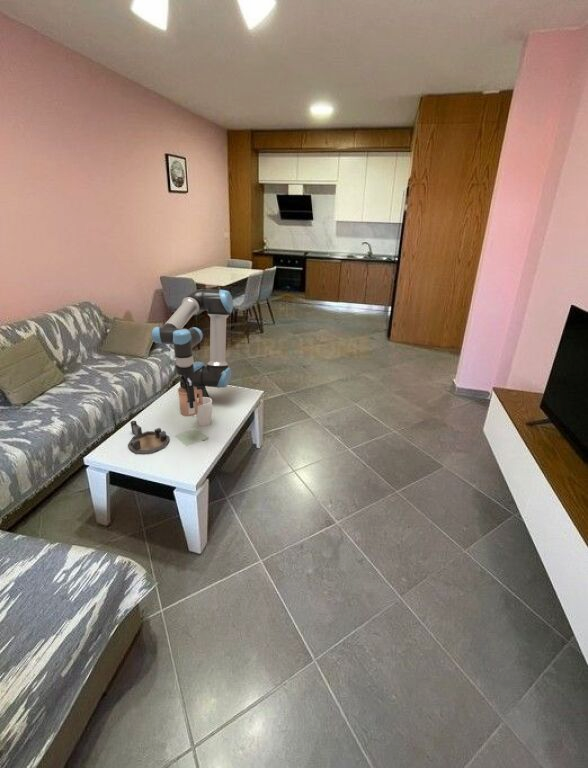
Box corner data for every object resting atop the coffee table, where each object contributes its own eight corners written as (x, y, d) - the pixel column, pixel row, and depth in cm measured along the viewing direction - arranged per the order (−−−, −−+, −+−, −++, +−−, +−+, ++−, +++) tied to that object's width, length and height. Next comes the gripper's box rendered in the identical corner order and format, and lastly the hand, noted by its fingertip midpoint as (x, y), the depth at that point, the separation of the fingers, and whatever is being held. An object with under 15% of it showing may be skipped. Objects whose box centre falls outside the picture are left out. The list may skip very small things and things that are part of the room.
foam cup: (209, 428, 185) (207, 406, 180) (192, 426, 187) (190, 403, 182) (216, 419, 194) (214, 398, 189) (200, 417, 195) (198, 396, 190)
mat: (196, 428, 185) (196, 427, 185) (209, 438, 177) (209, 437, 177) (174, 436, 177) (174, 435, 177) (186, 447, 169) (186, 446, 169)
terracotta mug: (176, 411, 172) (174, 388, 167) (198, 405, 179) (196, 382, 174) (185, 418, 166) (183, 394, 161) (207, 411, 173) (205, 388, 168)
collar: (116, 437, 174) (114, 427, 171) (149, 424, 185) (148, 415, 183) (140, 457, 159) (138, 447, 157) (175, 442, 171) (173, 432, 169)
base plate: (159, 430, 182) (159, 429, 182) (176, 445, 170) (176, 444, 170) (122, 443, 171) (122, 442, 171) (138, 460, 159) (137, 459, 159)
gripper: (170, 358, 168) (175, 402, 177) (182, 373, 152) (187, 421, 161) (186, 356, 172) (190, 399, 181) (200, 370, 156) (204, 417, 165)
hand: (189, 409), depth 171 cm, fingers closed on terracotta mug, 8 cm apart
